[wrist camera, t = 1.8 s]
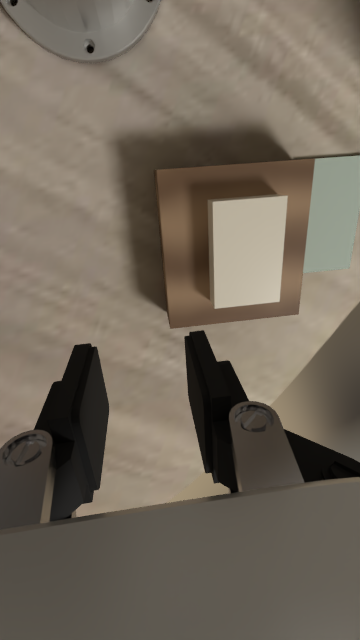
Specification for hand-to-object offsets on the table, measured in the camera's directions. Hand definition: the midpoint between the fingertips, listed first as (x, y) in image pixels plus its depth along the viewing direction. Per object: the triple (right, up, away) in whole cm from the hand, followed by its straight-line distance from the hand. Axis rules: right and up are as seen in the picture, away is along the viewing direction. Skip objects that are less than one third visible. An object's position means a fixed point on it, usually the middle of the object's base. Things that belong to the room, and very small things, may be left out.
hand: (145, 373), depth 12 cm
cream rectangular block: (+7, +8, +16) cm, 19 cm away
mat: (+16, +12, +20) cm, 28 cm away
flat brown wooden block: (+6, +10, +20) cm, 23 cm away
